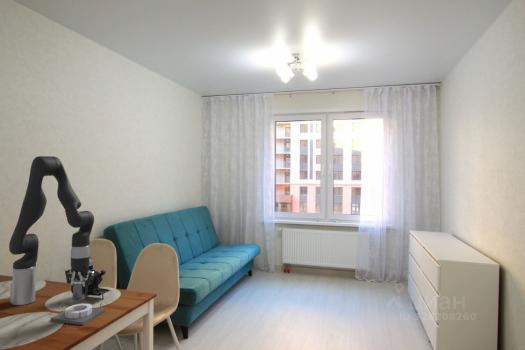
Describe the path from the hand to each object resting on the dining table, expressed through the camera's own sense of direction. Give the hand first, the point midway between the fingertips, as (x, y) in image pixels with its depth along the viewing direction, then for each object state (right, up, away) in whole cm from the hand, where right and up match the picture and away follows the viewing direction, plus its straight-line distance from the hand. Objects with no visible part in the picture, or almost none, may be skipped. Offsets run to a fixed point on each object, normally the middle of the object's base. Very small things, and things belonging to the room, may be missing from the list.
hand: (79, 293), depth 146 cm
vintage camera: (-6, -10, +21) cm, 24 cm away
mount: (0, -10, 0) cm, 10 cm away
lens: (0, -2, 0) cm, 2 cm away
